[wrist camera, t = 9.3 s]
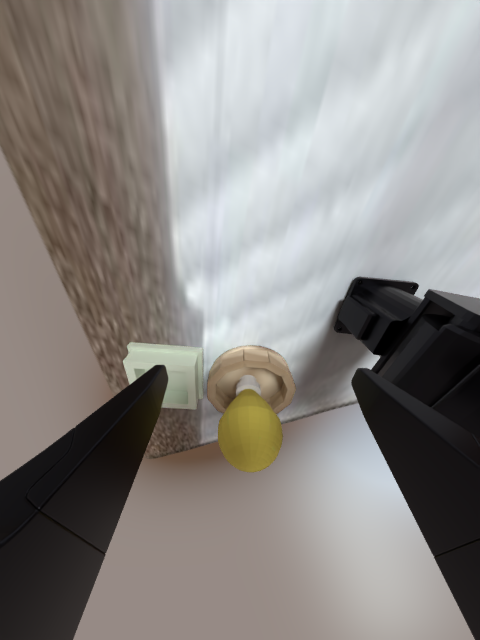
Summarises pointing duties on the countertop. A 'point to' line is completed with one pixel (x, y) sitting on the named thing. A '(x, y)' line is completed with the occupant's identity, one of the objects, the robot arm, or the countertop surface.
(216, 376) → the round cradle
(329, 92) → the countertop surface
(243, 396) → the light bulb
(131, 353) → the square socket
